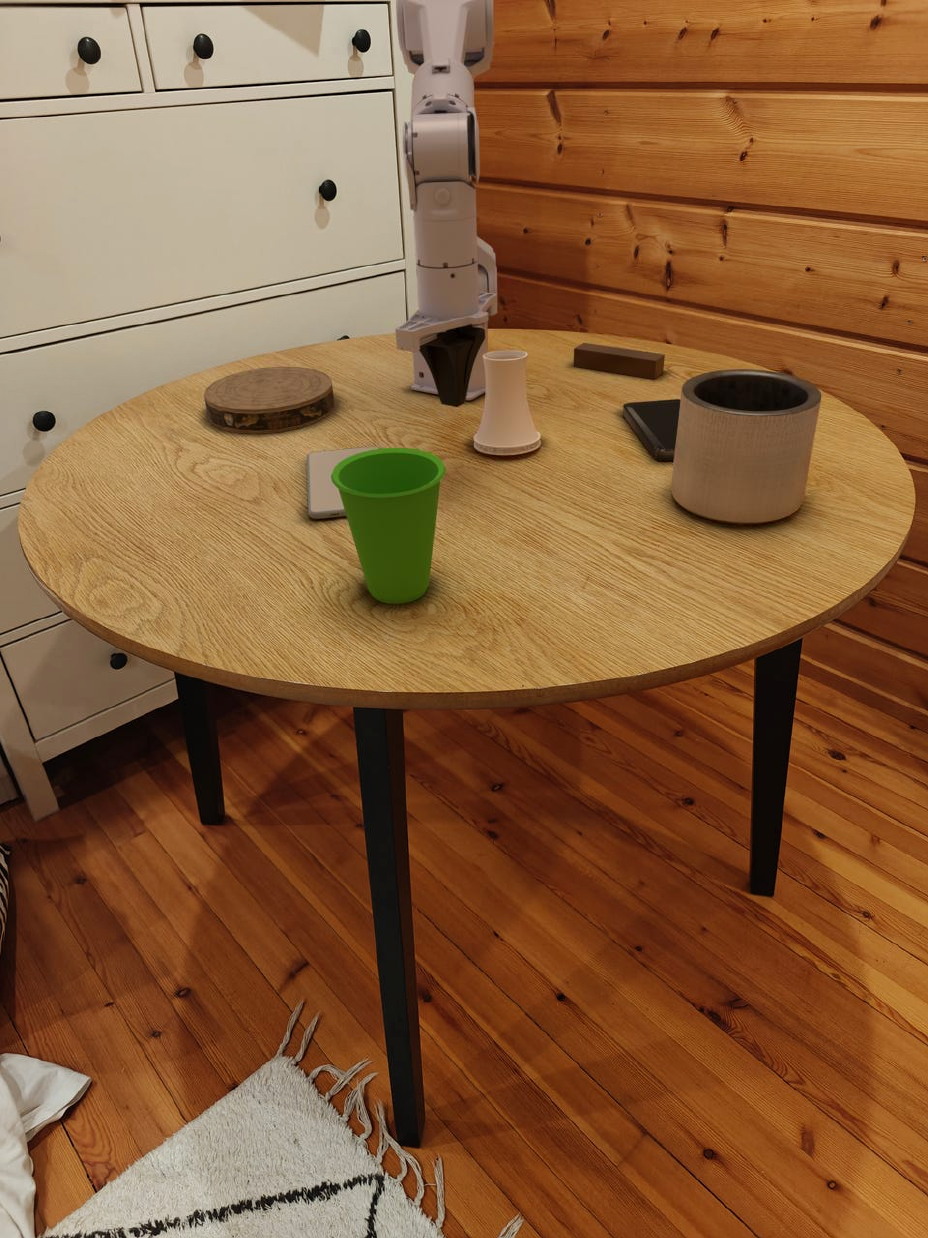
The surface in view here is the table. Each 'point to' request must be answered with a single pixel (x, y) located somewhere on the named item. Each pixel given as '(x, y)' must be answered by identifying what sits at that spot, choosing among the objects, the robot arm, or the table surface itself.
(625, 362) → the bar
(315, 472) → the smartphone
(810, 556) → the table surface
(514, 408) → the vase
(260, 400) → the wood slice
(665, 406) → the black beveled tile
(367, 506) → the cup
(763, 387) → the planter
